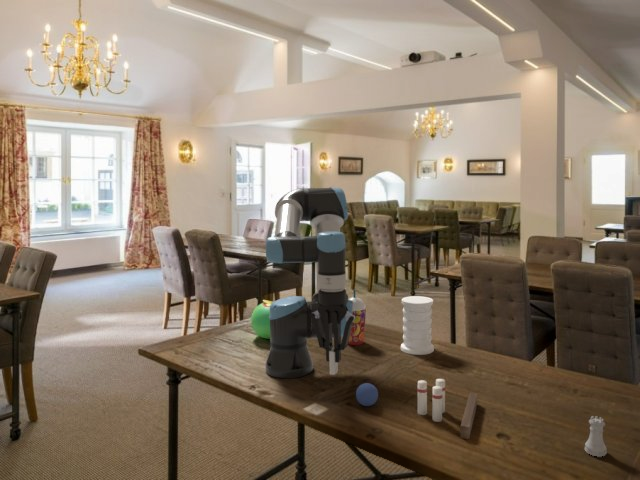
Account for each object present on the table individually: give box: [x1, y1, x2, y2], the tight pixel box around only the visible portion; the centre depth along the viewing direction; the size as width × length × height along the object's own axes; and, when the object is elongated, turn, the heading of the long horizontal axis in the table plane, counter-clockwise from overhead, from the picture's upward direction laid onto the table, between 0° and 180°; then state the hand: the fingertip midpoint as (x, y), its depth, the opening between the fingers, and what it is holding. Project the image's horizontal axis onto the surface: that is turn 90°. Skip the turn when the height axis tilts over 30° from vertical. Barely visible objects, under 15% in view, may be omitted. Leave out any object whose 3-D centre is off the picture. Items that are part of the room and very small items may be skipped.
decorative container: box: [400, 295, 435, 356], centre depth 189 cm, size 12×12×18 cm
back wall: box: [460, 392, 478, 440], centre depth 136 cm, size 2×20×3 cm, turn 159°
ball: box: [355, 382, 379, 407], centre depth 146 cm, size 6×6×6 cm
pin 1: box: [435, 378, 446, 414], centre depth 141 cm, size 2×2×8 cm
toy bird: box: [250, 299, 275, 340], centre depth 206 cm, size 18×17×15 cm
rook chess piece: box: [584, 415, 608, 458], centre depth 119 cm, size 4×4×8 cm
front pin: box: [416, 379, 428, 416], centre depth 140 cm, size 2×2×8 cm
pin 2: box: [431, 385, 443, 423], centre depth 137 cm, size 2×2×8 cm
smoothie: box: [348, 289, 367, 346], centre depth 197 cm, size 8×8×20 cm
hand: (333, 372), depth 148 cm, fingers closed
